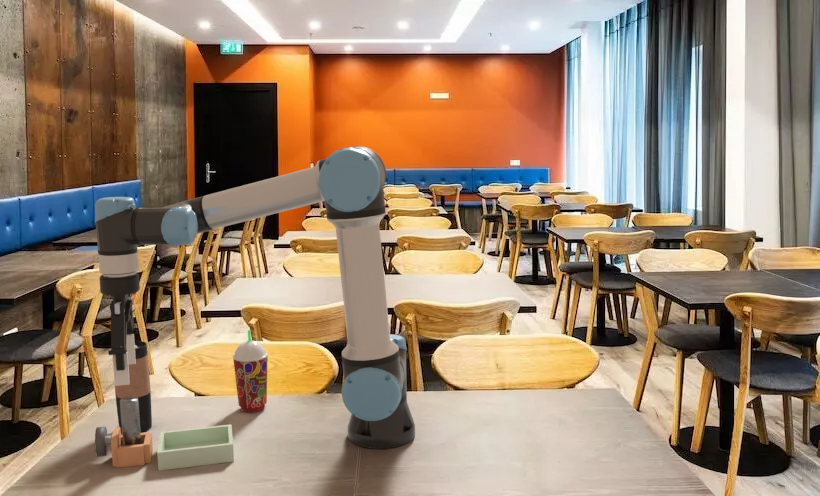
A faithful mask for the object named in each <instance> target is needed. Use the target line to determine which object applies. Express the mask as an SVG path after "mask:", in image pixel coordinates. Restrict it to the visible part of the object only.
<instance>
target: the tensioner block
mask: <svg viewBox="0 0 820 496" xmlns="http://www.w3.org/2000/svg"><path fill="white" fill-rule="evenodd" d="M109 446H111V459H112V467H118V468H124V467H125V468H126V467H134V466H142V465H144V466H145V464H149V463H151V462H152V458H153V453H154V447H153V434H152V432H147V431H146V432H143V433H141V444H138V445H129V446H123V436H122V433H121V429H120V427H119V426H118V427H114V428H113V431H112V433H111V435H108V429H107V426H99V427H98V426H97V427H96V428H95V432H94V448H95V456H96V457H97V458H99V457H106V456H107V454H108V447H109Z"/></svg>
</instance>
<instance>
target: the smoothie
mask: <svg viewBox="0 0 820 496" xmlns="http://www.w3.org/2000/svg"><path fill="white" fill-rule="evenodd" d="M251 334H252V332H251V329H248V330H247V338H248V340H246V341H243V342H242V343H240V344H239V345H237V348H236V349H235V351H234V354H233V355H232V357H233V358H232V359H233V369H234V375H235V384H236V393H237V402H238V406H239V407H240V409H241V411H242V412H244V413H257V412H261V411H262V410H264V409H265V406H266V404H267V403H268V402H267V401H268V355H269V353H268V352H267V351H266V349H265V348H264V346H263V344H261V343H259V341H256V340H252V335H251Z"/></svg>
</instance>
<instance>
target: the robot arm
mask: <svg viewBox="0 0 820 496" xmlns="http://www.w3.org/2000/svg"><path fill="white" fill-rule="evenodd" d="M386 178H387V170H386V164H385V163H384V161H383V159H382V158H381V156H380V155H379V154H378V153H377V152H375V151H374V150H373V149H371V148H369V147H366V146H359V145H357V146H356V145H353V146H348V147H343V148H338V149H336V150H335V151H334V152H332V153H331V154H329V156H328V157H326V158H324V159H323V158H322V159H319V160H318V161H317V162H316V164H315V166H312V167H307V168H304V169H300V170H296V171H293V172H290V173H286V174H282V175H278V176H275V177H270V178H267V179H266V178H265V179H263V180H258V181H255V182H252V183H248V184H247V183H246V184H243V185H241V186H236V187H232V188H228V189H225V190H221V191H217V192H213V193H210V194H206V195H203V196H199V197H195V198H194V197H193V198H189V199H186V200H182V201H180V202H177V203H174V204H169V205H166V206H162V207H139V206H136V203H135V199H134V198H133V197H131V196H108V197H102V198H99V199H97V200H96V201H95V204H94V207H95V208H94V211H95V212H94V213H95V214H94V215H95V218H94V223H95V231H96V242H97V258H95V260H94V261H95V263H97V264H98V272H99V273H100V274H101V275H100V276H99V288H100V289H99V291H100V294H102V295H104V296H110V297H112V300H111V302H110V303H109V310H110V341H111V342H110V346H111V347H110V350H108V352H107V353H108V356H112V366H113V380H114V387H115V386H119V385H129V384H130V382H129V367H128V365H130V364H136V358H135V343H134V341H135V334H137V333H138V328H137V327H135V320H134V315H133V314H134V313H133V299H132V296H131V295H133V294H135V293H137V292H139V291H140V289H141V287H140V286H141V285H140V274H139V273H137V272H138V271H139V270H140V267H139V266H140V265H139V251H138V246H145V245H147V246H148V245H150V246H154V245H155V246H173V247H178V246H187V245H188V246H189V245H191V244H193V243H194V242H195V239H196V238H197V236H198V234H202V233H206V232H209V231H213V230H216V229H220V228H224V227H228V226H231V225H236V224H240V223H244V222H249V221H252V220H256V219H259V218H264V217H268V216H271V215H274V214H279V213H283V212H286V211H291V210H294V209H298V208H299V209H300V208H303V207H306V206H310V205H314V204H317V203H321V202H324V204H325V206H324V207H325V214H326V220H327V221H328V222H329V223H331V225H333V227H334V228H335V233H336V235H335V236H336V243H337V244H336V245H337V253H338V262H339V271H340V281H341V283H340V284H341V290H342V300H343V308H344V309H343V310H344V319H345V327H346V328H345V329H346V338H347V345H346V346H345V347H344V348H343V350H342V351H341V360H342V361H341V362H342V363H341V364H342V371H343V372H342V373H343V383H342V385H341V399H342V402H343V405H344V406H345V408H346V409H347V411H348V413H350V414H351V415H350V417H349V421H348V425H347V438H348V440H349V441H350V442H351V443H352V444H354V445H357V446H358V447H363V448H368V449H381V450H382V449H390V448H391V449H392V448H396V447H400V446H404V445H406V444H408V443H410V442H411V441H413V439H414V438H415V436H416V425H415V424H416V423H415V422H414V418H413V415H412V412H411V409H410V407H409V404H408V399H407V397H408V395H407V393H408V391H407V389H408V388H407V352H408V349H407V348H408V347H407V345H406V344H407V342H406V339H405V337H404V336H402V335H398V334H391V333H390V323H389V322H390V321H389V314H388V313H389V311H388V303H387V302H388V299H387V293H386V292H387V291H386V283H385V282H386V281H385V270H384V263H383V262H384V260H383V251H382V239H381V229H380V222H381V221H382V220H383V218H384V217H385V216H386V215H387V213H386V202H385V201H386V200H385V192H384V191H385V190H384V186H385V183H386V181H387V179H386ZM118 346H121V347H118ZM116 347H118V348H116Z"/></svg>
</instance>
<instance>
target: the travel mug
mask: <svg viewBox="0 0 820 496" xmlns="http://www.w3.org/2000/svg"><path fill="white" fill-rule="evenodd" d="M134 343H135V358H136V364H130V365H128V367H129V382H130V384H129V385H119V386H115V385H114V395H115V404H116V411H117V412H116V413H117V420H118V421H117V422H118V427H120V429H121V434H122V423H121V410H120V400H121V399H123V398H126V397H137V398H138V404H139V417H140V431H141V433H145V432H146V433H147V432H148V431H149V430H150V429H152V426H153V425H152V424H153V423H152V422H153V421H152V420H153V419H152V395H151V394H152V393H151V392H152V391H151V378H150V367H149V355H148V345H147V342H145V341H142V340H134ZM118 347H121V346H118ZM118 347H116V348H118Z"/></svg>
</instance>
